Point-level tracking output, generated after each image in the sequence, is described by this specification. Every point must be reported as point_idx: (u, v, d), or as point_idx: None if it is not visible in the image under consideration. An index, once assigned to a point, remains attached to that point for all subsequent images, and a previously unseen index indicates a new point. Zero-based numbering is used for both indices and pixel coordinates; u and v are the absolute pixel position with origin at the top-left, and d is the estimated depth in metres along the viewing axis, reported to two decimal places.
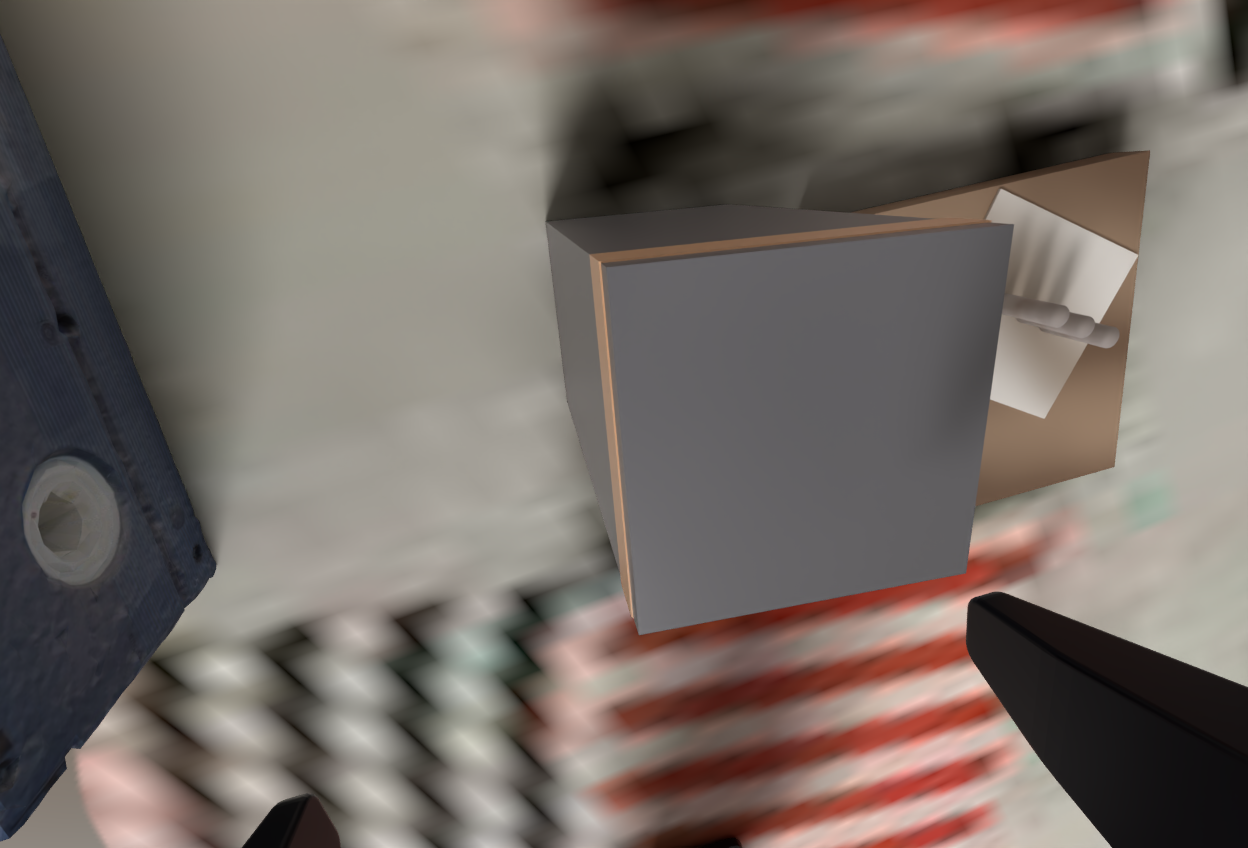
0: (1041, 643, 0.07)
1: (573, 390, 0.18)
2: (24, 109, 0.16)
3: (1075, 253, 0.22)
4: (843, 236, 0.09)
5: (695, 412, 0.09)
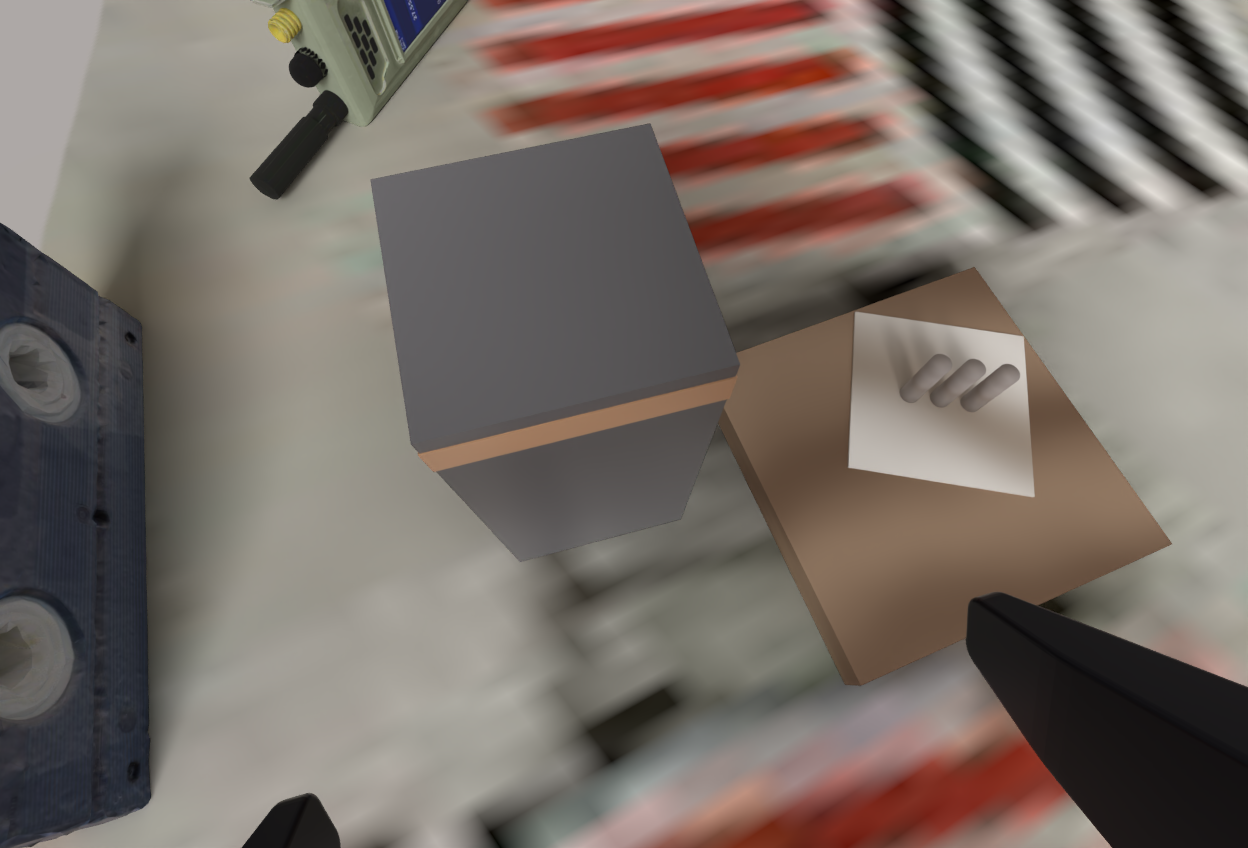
0: (1041, 643, 0.07)
1: None
2: (138, 398, 0.25)
3: (959, 345, 0.24)
4: None
5: (441, 253, 0.12)
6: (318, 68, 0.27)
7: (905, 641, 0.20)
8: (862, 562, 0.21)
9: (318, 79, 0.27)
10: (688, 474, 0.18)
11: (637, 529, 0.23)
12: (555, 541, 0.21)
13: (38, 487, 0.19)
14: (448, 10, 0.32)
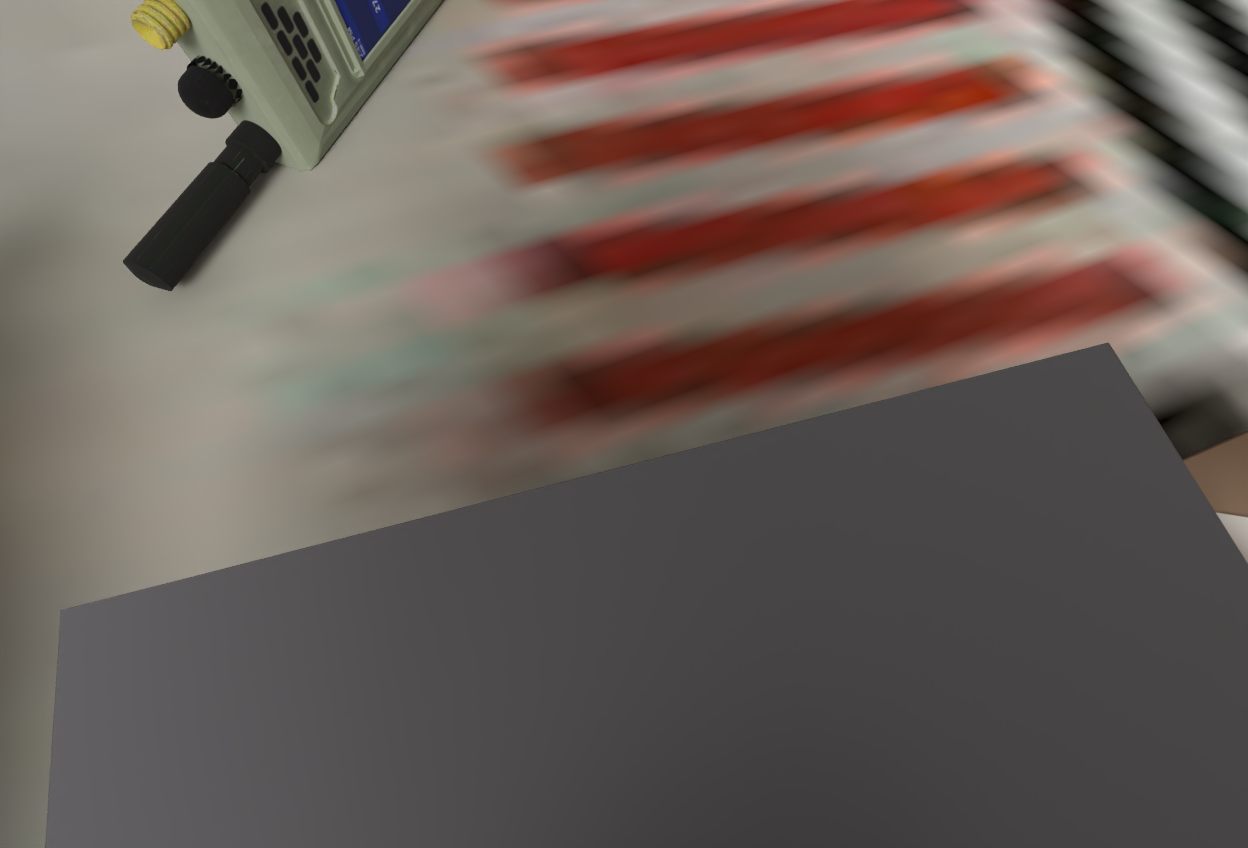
0: None
1: None
2: None
3: None
4: None
5: None
6: (225, 88, 0.17)
7: None
8: None
9: (226, 105, 0.17)
10: None
11: None
12: None
13: None
14: None
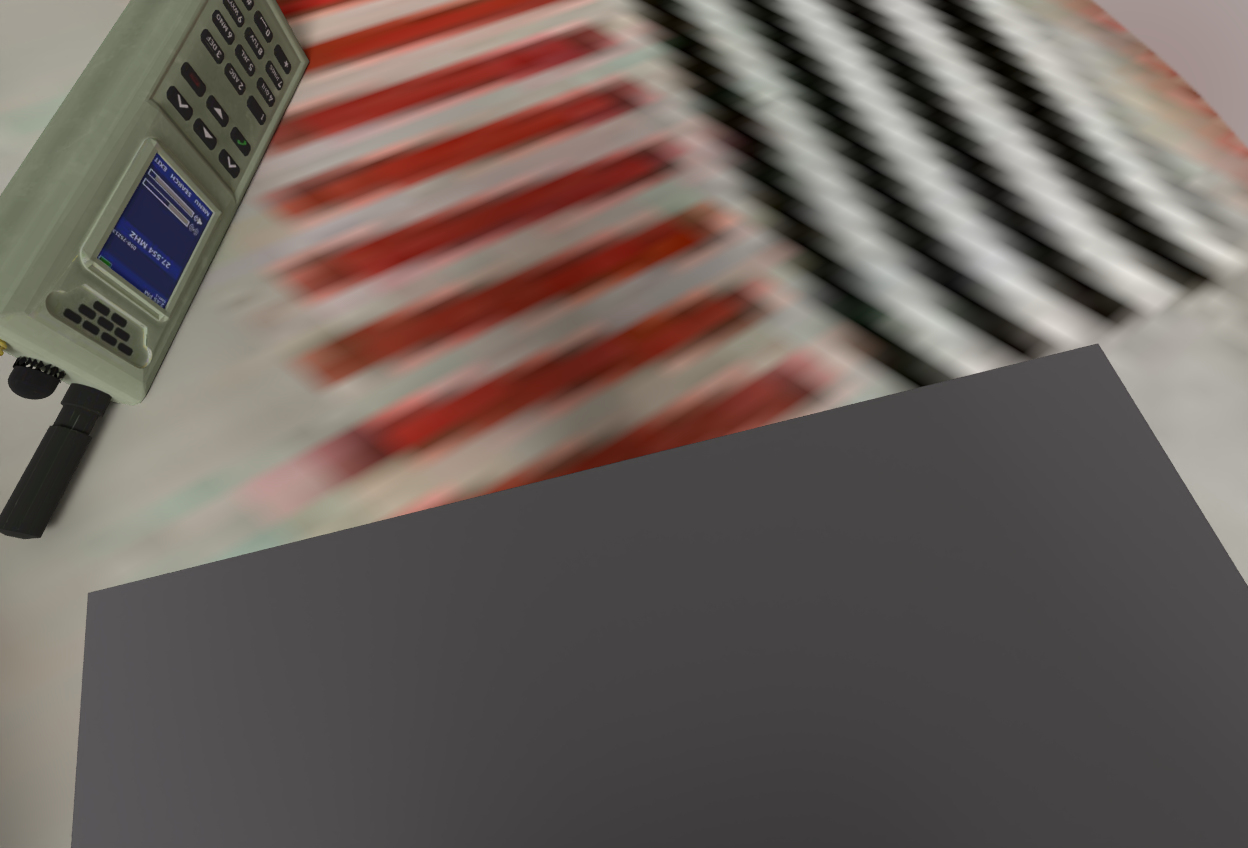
0: None
1: None
2: None
3: None
4: None
5: None
6: (48, 376, 0.22)
7: None
8: None
9: (53, 387, 0.22)
10: None
11: None
12: None
13: None
14: (213, 234, 0.27)
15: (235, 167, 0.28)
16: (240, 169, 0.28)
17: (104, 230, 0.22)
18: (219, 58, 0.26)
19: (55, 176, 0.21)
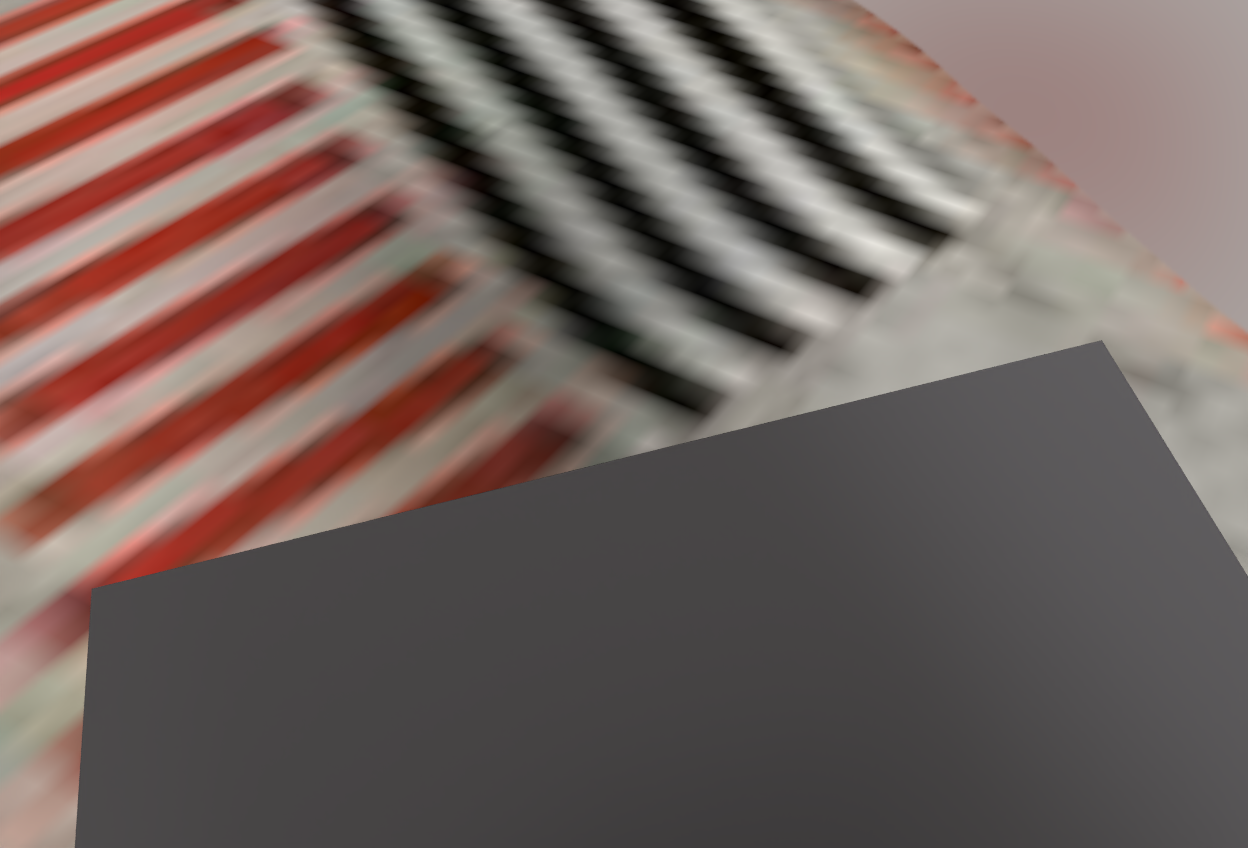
0: None
1: None
2: None
3: None
4: None
5: None
6: None
7: None
8: None
9: None
10: None
11: None
12: None
13: None
14: None
15: None
16: None
17: None
18: None
19: None
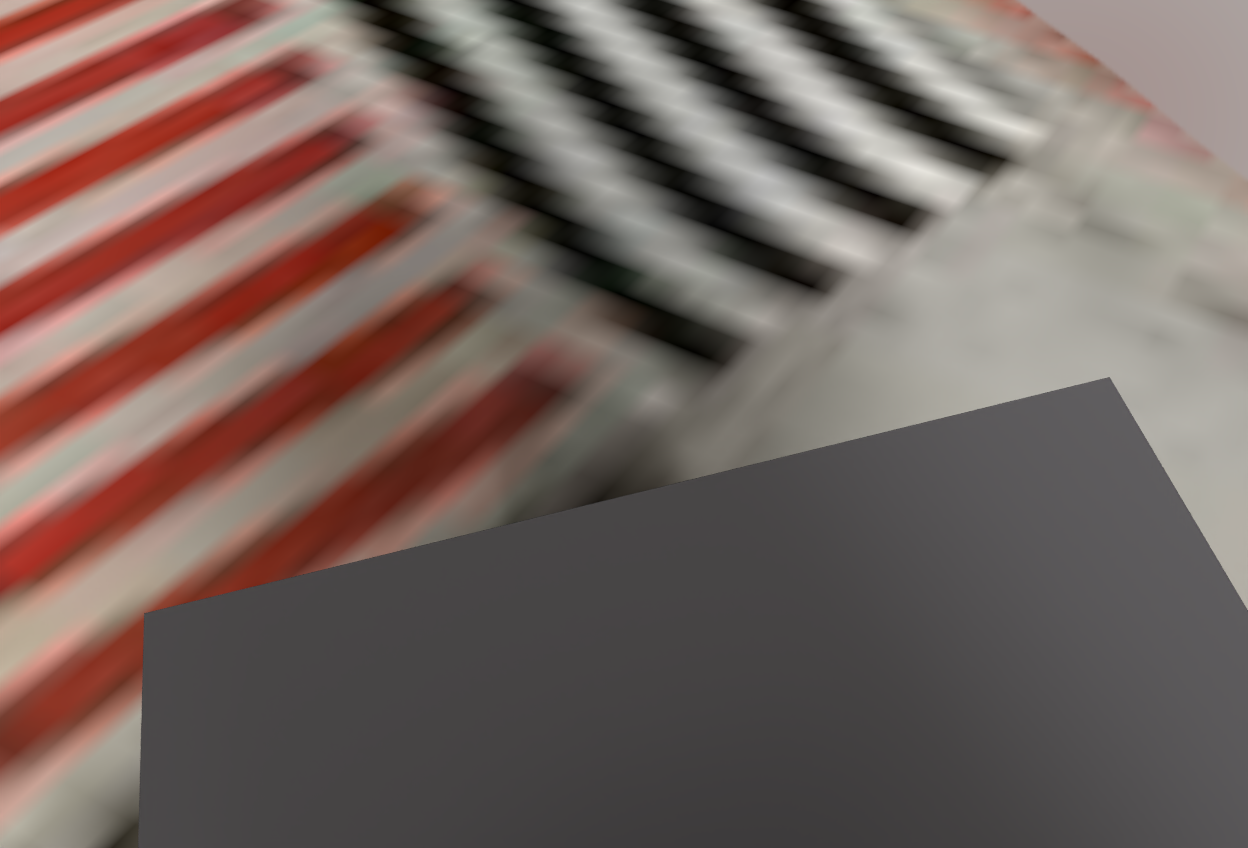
0: None
1: None
2: None
3: None
4: None
5: None
6: None
7: None
8: None
9: None
10: None
11: None
12: None
13: None
14: None
15: None
16: None
17: None
18: None
19: None
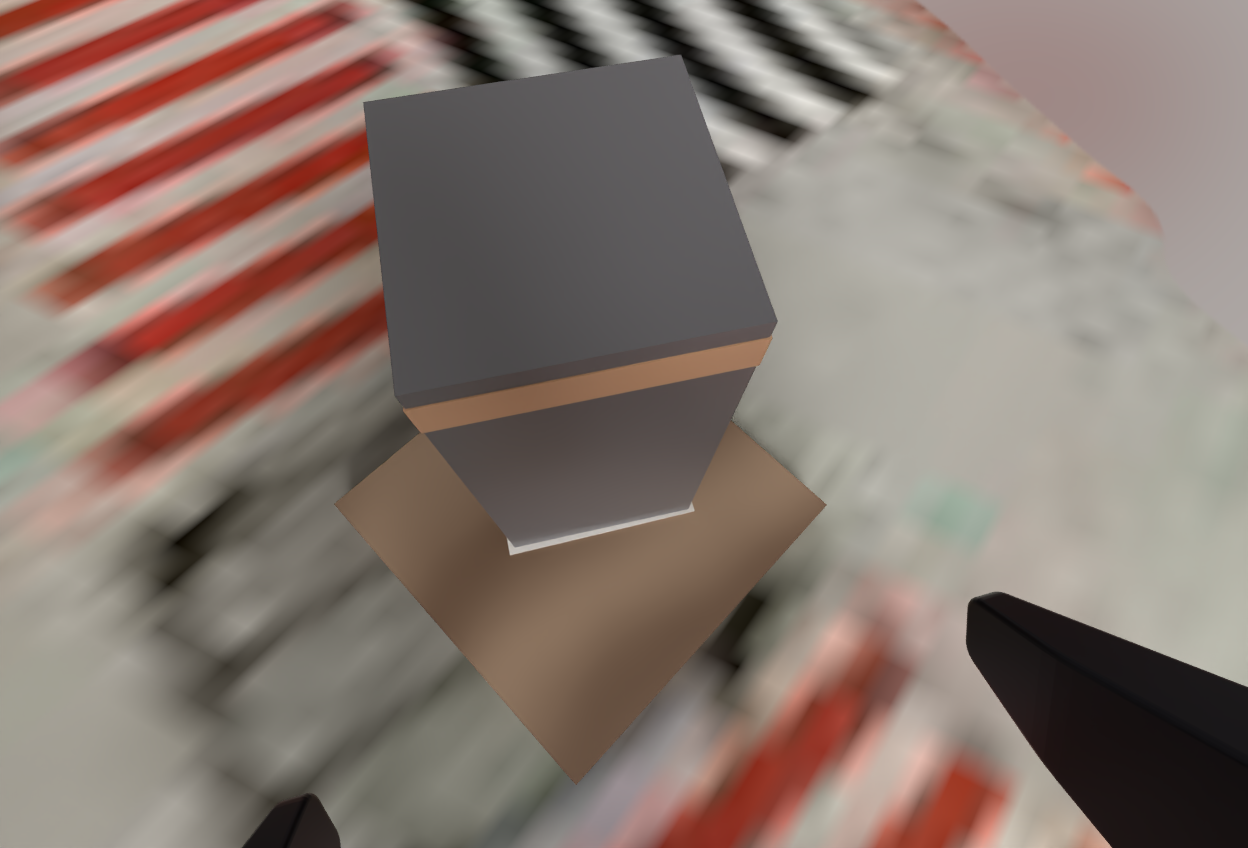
0: (1041, 643, 0.07)
1: None
2: None
3: None
4: None
5: (439, 185, 0.11)
6: None
7: (608, 716, 0.19)
8: (547, 651, 0.20)
9: None
10: (702, 457, 0.16)
11: (641, 518, 0.21)
12: (554, 526, 0.20)
13: None
14: None
15: None
16: None
17: None
18: None
19: None
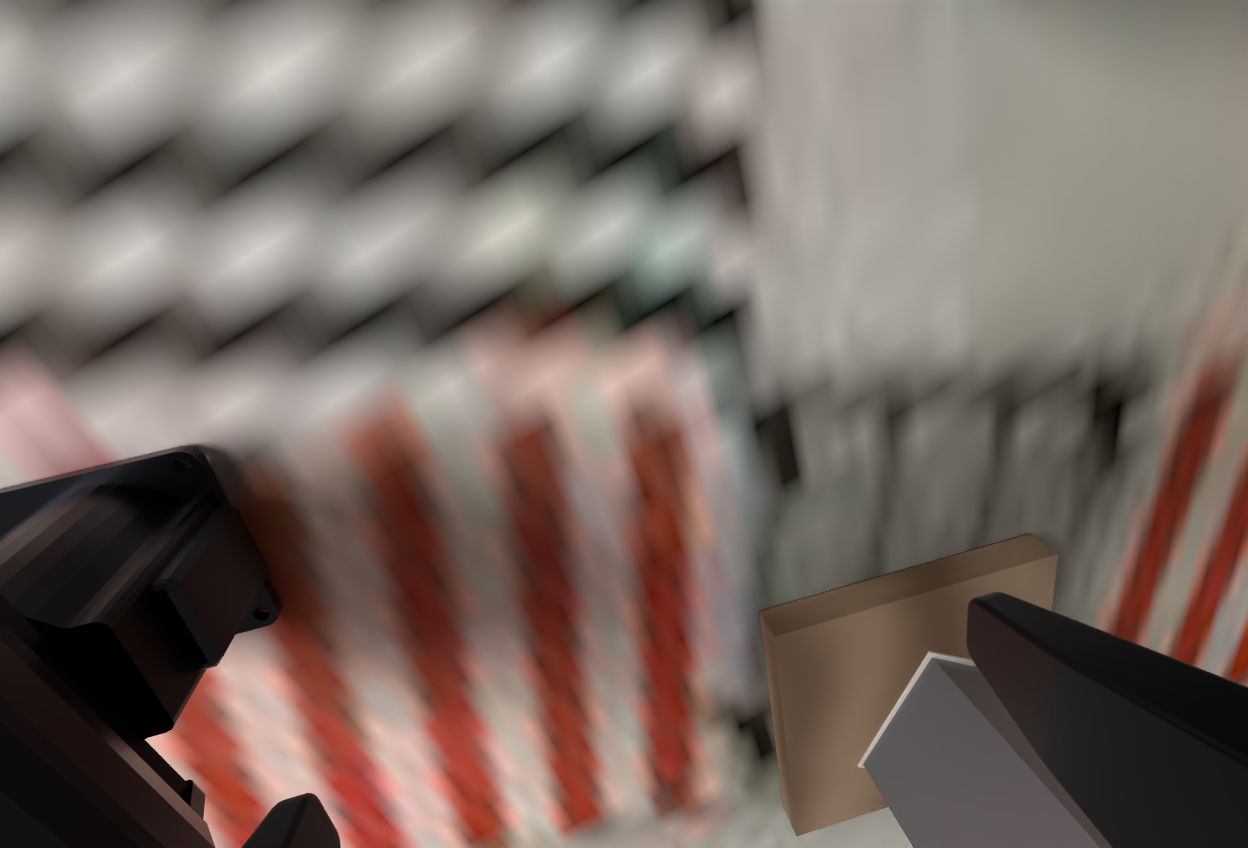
0: (1041, 643, 0.07)
1: None
2: None
3: None
4: None
5: None
6: None
7: (793, 670, 0.25)
8: (857, 650, 0.25)
9: None
10: None
11: (883, 741, 0.27)
12: (941, 719, 0.25)
13: None
14: None
15: None
16: None
17: None
18: None
19: None
